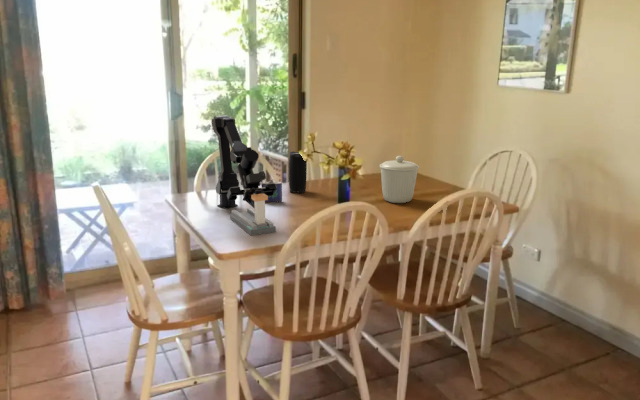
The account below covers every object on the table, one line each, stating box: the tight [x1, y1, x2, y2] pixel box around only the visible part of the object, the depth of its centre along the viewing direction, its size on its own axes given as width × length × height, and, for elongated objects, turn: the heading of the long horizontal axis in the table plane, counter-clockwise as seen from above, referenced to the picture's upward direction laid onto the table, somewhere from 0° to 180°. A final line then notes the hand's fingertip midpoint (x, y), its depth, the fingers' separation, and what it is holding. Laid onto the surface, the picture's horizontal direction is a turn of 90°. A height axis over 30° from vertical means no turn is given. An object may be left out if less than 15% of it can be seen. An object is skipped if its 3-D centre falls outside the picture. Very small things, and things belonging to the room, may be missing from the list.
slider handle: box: [251, 193, 268, 228], centre depth 203 cm, size 5×5×12 cm
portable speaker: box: [288, 150, 308, 194], centre depth 262 cm, size 9×9×20 cm
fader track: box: [229, 207, 277, 236], centre depth 212 cm, size 24×10×3 cm, turn 28°
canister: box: [379, 155, 420, 204], centre depth 248 cm, size 18×18×21 cm
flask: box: [261, 178, 283, 204], centre depth 245 cm, size 9×3×11 cm, turn 95°
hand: (258, 210), depth 204 cm, fingers closed
